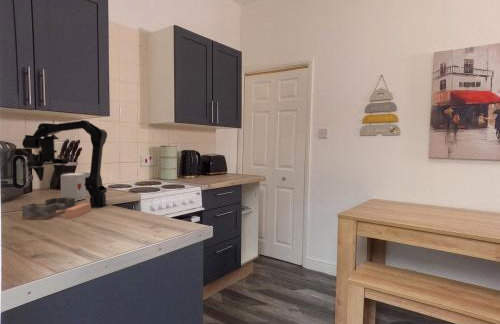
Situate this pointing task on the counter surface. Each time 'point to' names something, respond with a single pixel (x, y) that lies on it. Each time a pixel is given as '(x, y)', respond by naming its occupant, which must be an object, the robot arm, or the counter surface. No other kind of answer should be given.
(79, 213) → the rail
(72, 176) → the supplement box
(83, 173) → the skincare box
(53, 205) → the bracket stand
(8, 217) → the counter surface
